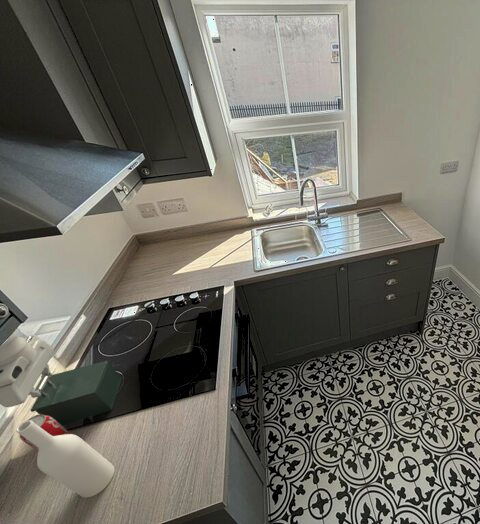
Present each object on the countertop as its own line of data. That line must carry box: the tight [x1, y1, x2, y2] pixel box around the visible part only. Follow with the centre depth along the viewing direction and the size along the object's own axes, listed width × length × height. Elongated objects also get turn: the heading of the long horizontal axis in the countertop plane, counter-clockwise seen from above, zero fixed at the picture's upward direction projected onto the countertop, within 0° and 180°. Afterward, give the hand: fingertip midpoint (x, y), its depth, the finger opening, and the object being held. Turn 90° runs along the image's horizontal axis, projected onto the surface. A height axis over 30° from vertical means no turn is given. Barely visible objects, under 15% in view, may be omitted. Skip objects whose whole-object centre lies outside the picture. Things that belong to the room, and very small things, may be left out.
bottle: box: [16, 419, 115, 498], centre depth 72 cm, size 8×8×30 cm
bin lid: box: [30, 360, 109, 413], centre depth 93 cm, size 16×13×5 cm
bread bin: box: [35, 361, 123, 427], centre depth 97 cm, size 16×13×10 cm
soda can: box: [18, 414, 71, 452], centre depth 85 cm, size 7×7×12 cm
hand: (43, 386), depth 91 cm, fingers closed on bin lid, 5 cm apart
